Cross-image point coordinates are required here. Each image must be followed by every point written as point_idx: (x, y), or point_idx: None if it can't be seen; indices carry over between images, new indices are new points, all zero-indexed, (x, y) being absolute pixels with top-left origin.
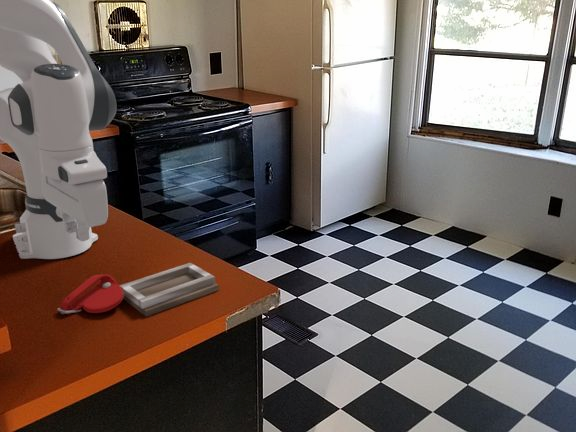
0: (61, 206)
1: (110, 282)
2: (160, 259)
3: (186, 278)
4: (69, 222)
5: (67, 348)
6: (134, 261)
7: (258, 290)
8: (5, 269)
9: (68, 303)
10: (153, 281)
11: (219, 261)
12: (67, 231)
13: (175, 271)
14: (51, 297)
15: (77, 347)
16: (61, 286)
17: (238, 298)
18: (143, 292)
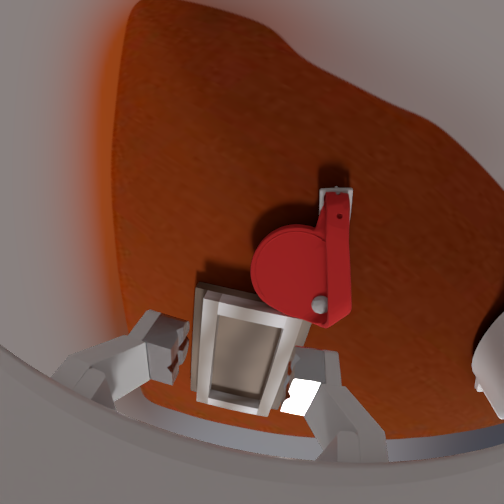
0: (242, 492)
1: (319, 315)
2: None
3: (245, 388)
4: (313, 398)
5: (210, 120)
6: (385, 386)
7: (158, 396)
8: None
9: (326, 205)
10: (272, 361)
11: (266, 431)
12: (305, 348)
13: (263, 393)
14: (423, 226)
15: (198, 134)
16: (439, 266)
17: None
18: (262, 330)
